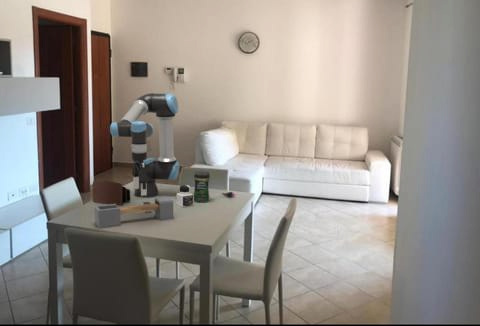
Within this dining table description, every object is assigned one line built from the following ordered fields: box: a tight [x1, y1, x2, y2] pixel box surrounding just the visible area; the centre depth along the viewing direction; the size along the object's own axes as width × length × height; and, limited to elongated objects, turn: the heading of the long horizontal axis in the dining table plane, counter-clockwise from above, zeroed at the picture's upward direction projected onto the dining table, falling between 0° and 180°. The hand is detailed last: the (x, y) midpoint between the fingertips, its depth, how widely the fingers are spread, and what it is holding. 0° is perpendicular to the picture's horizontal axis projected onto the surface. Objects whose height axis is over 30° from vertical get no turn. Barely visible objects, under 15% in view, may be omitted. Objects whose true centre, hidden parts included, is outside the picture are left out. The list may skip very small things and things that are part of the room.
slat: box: [119, 203, 159, 215], centre depth 241 cm, size 4×28×2 cm, turn 119°
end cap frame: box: [94, 196, 174, 229], centre depth 240 cm, size 9×39×10 cm, turn 119°
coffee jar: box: [193, 170, 211, 203], centre depth 281 cm, size 10×8×19 cm
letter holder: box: [92, 180, 131, 207], centre depth 273 cm, size 10×20×14 cm, turn 73°
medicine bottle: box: [176, 184, 194, 209], centre depth 271 cm, size 7×7×12 cm
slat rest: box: [142, 201, 152, 214], centre depth 252 cm, size 5×23×5 cm, turn 119°
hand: (139, 192), depth 240 cm, fingers open, 13 cm apart
